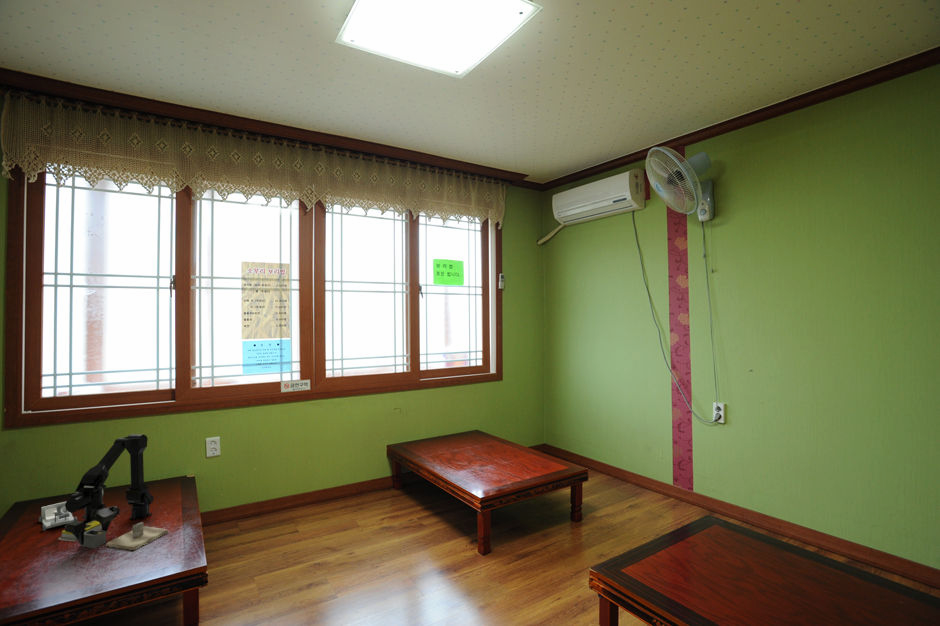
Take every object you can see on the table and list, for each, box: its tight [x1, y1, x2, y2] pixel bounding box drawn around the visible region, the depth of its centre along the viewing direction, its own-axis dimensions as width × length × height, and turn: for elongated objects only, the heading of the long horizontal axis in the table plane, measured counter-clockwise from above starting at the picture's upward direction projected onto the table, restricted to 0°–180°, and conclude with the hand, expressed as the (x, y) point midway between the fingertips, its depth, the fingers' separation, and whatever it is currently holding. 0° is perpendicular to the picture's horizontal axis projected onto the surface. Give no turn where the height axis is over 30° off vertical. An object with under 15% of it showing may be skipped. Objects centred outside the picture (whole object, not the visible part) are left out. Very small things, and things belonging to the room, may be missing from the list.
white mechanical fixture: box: [38, 500, 78, 532], centre depth 214 cm, size 18×10×12 cm
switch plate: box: [106, 521, 169, 551], centre depth 200 cm, size 16×14×6 cm
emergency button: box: [57, 521, 102, 542], centre depth 206 cm, size 9×4×15 cm
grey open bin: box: [80, 529, 107, 549], centre depth 195 cm, size 7×5×5 cm, turn 76°
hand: (93, 539), depth 195 cm, fingers open, 9 cm apart
